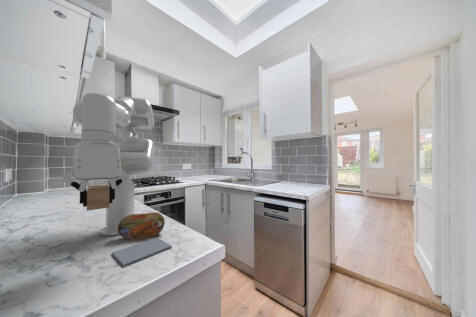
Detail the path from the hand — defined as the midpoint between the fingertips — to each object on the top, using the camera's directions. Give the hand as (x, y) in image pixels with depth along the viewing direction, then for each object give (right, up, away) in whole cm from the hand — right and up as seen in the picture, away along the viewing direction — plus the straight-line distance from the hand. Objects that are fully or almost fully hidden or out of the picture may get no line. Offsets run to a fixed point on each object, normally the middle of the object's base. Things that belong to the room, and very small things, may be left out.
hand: (97, 203), depth 47 cm
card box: (0, -1, 0) cm, 1 cm away
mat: (+10, -15, +4) cm, 19 cm away
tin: (+4, -16, +15) cm, 22 cm away
